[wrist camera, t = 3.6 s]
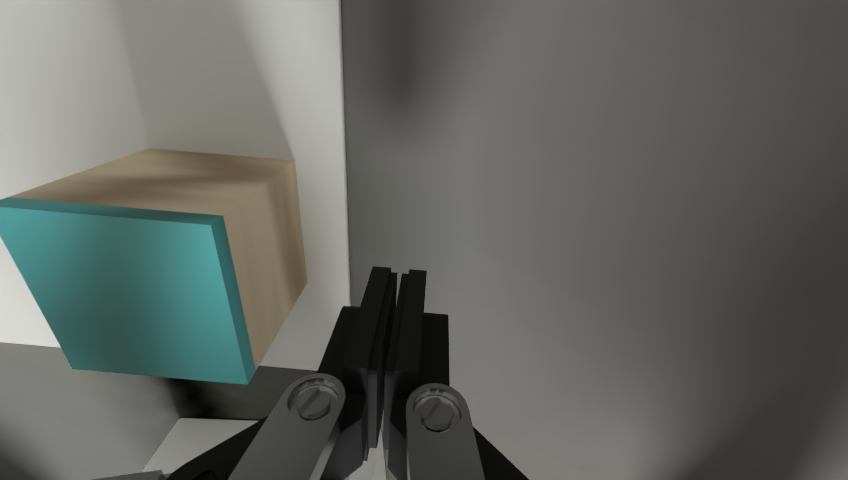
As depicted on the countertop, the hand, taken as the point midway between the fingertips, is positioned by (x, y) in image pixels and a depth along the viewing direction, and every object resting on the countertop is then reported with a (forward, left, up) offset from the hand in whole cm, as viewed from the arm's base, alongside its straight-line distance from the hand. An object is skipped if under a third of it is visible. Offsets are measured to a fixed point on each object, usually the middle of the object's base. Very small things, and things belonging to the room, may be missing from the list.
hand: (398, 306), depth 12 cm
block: (+8, 0, -5) cm, 9 cm away
